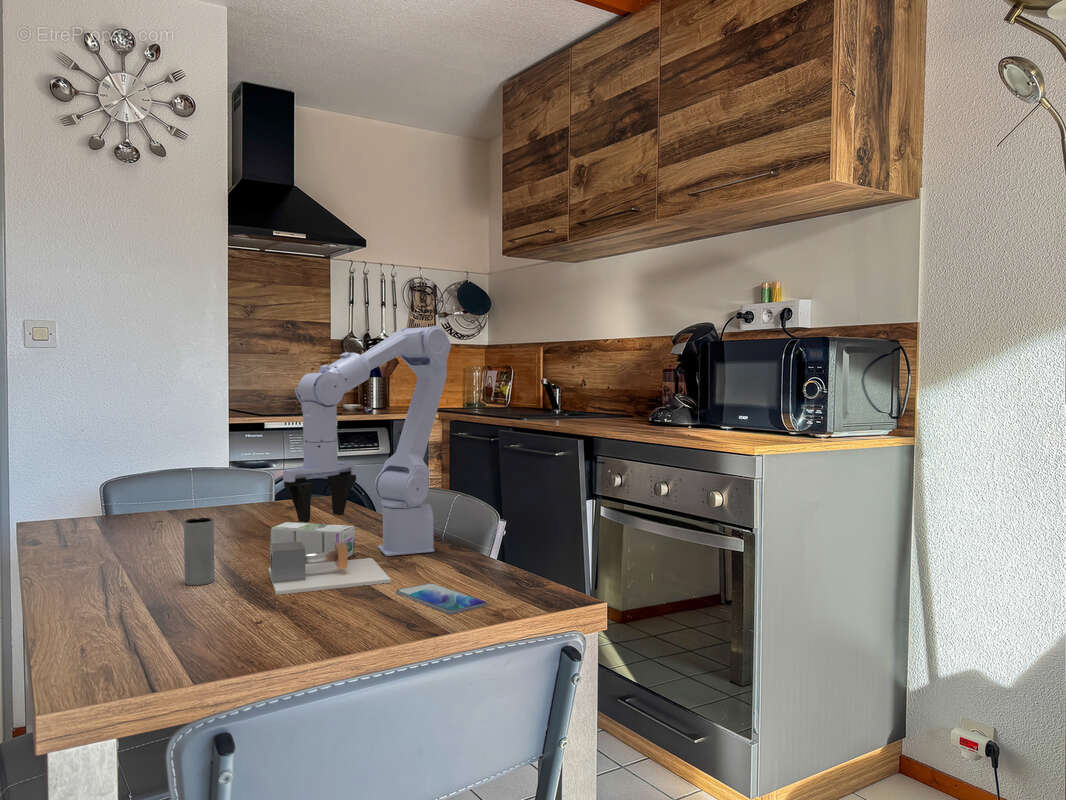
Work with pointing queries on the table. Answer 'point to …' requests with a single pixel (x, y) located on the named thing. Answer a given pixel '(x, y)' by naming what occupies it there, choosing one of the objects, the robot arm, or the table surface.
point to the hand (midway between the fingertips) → (321, 518)
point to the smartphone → (441, 598)
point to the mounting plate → (334, 577)
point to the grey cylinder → (199, 551)
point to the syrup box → (315, 536)
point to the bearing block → (287, 561)
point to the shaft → (330, 556)
